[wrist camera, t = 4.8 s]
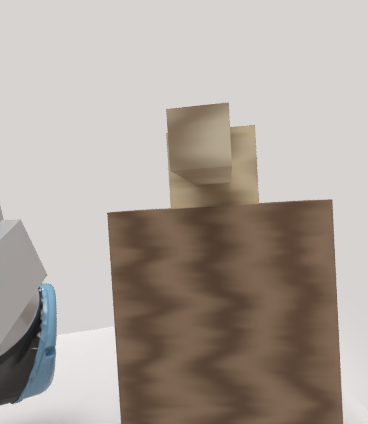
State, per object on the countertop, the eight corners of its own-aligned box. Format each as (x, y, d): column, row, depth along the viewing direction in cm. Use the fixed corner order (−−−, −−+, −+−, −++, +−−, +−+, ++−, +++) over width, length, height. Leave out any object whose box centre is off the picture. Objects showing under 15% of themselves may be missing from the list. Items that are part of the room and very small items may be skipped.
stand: (108, 521, 29) (87, 213, 29) (130, 460, 36) (114, 211, 36) (373, 546, 26) (357, 198, 25) (342, 473, 33) (329, 198, 32)
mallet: (123, 214, 15) (114, 73, 15) (183, 207, 36) (179, 148, 36) (288, 204, 14) (280, 52, 14) (251, 203, 35) (248, 142, 35)
